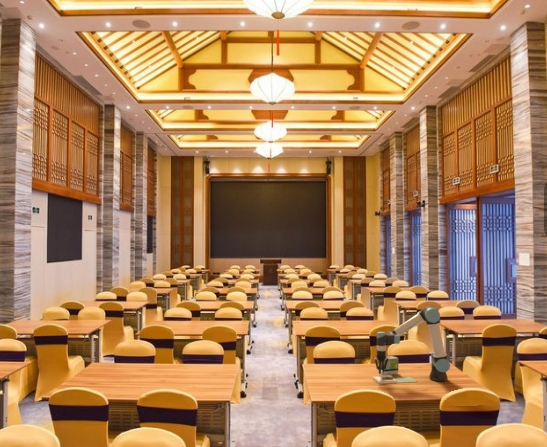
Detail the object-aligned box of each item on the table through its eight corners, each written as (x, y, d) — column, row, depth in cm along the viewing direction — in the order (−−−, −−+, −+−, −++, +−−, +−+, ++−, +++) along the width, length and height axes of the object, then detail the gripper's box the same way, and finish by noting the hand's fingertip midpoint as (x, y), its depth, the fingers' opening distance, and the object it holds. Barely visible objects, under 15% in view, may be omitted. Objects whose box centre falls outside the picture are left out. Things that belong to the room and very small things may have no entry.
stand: (390, 378, 424) (390, 376, 424) (396, 382, 410) (396, 380, 410) (372, 379, 421) (372, 376, 421) (378, 383, 408) (378, 381, 408)
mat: (410, 377, 427) (410, 377, 427) (417, 381, 413) (417, 381, 413) (391, 378, 424) (391, 377, 424) (397, 382, 410) (397, 382, 410)
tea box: (384, 375, 432) (384, 359, 433) (378, 373, 441) (378, 356, 442) (398, 374, 438) (398, 357, 438) (392, 371, 447) (392, 355, 448)
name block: (390, 377, 420) (390, 375, 420) (393, 379, 414) (393, 376, 414) (380, 377, 418) (380, 375, 419) (383, 379, 413) (383, 377, 413)
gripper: (386, 348, 421) (386, 376, 420) (372, 349, 419) (372, 376, 418) (390, 350, 414) (390, 378, 413) (375, 351, 412) (375, 379, 411)
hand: (381, 377), depth 415 cm, fingers closed
